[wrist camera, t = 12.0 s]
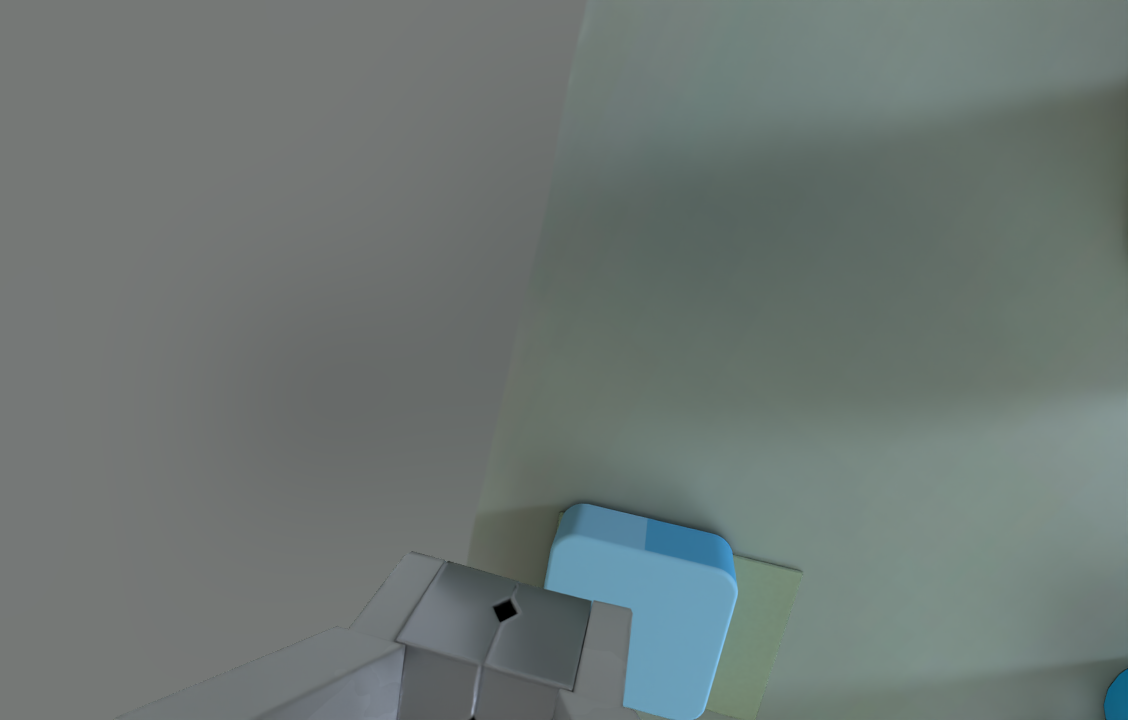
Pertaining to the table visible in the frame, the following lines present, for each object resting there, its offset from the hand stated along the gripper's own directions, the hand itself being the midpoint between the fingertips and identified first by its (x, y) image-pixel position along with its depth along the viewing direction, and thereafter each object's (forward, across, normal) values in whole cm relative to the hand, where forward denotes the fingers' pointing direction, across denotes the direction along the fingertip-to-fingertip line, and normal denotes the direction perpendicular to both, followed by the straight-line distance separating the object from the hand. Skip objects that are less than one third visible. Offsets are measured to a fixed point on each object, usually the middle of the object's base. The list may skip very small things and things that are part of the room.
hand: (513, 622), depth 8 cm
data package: (+31, -4, +16) cm, 35 cm away
